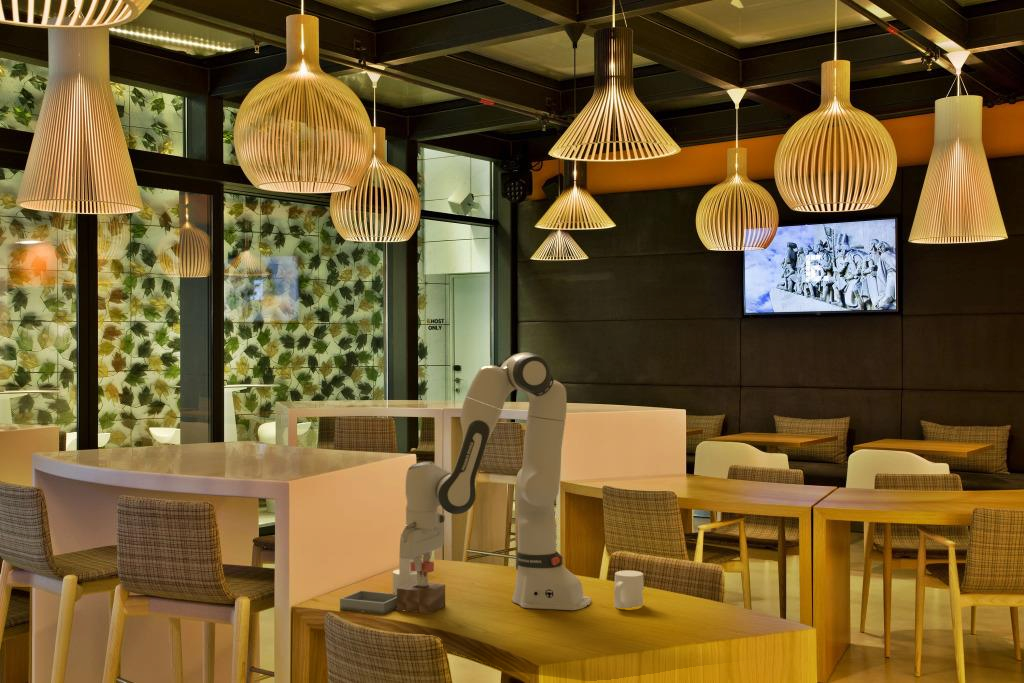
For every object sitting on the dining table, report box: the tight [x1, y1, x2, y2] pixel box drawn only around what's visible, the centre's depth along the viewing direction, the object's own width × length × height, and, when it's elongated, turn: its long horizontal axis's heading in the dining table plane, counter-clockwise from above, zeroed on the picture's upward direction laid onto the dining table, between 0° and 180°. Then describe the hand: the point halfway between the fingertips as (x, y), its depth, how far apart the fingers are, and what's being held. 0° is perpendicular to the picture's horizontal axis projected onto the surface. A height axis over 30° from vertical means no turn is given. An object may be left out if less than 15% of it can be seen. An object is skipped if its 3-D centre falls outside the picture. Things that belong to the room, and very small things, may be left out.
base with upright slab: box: [392, 553, 417, 594], centre depth 315 cm, size 9×9×12 cm
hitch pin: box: [411, 560, 435, 588], centre depth 295 cm, size 6×3×10 cm, turn 67°
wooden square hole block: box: [396, 581, 446, 614], centre depth 295 cm, size 10×10×6 cm
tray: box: [339, 590, 397, 615], centre depth 296 cm, size 14×11×3 cm
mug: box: [613, 569, 645, 608], centre depth 296 cm, size 12×9×8 cm
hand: (422, 569), depth 295 cm, fingers closed on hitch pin, 2 cm apart
